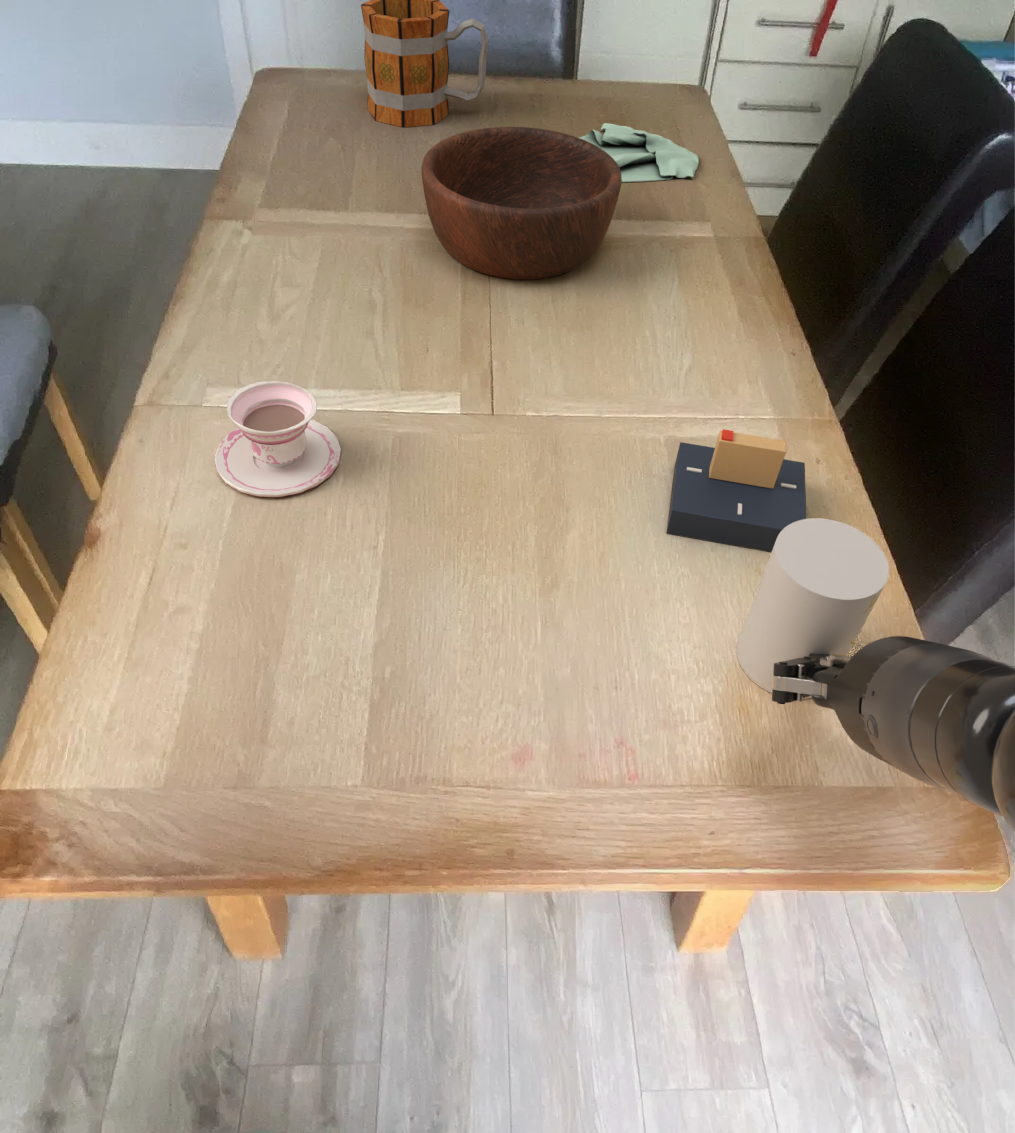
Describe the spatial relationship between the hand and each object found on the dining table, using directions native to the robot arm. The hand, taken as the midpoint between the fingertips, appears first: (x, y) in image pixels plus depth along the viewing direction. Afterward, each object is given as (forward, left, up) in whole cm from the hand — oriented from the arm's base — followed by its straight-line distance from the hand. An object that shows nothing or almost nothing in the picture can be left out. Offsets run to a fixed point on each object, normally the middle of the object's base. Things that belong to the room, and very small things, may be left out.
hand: (816, 667), depth 67 cm
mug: (+59, -106, -5) cm, 121 cm away
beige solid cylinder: (+1, -5, -5) cm, 7 cm away
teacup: (+50, -18, -5) cm, 53 cm away
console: (+6, -22, -5) cm, 23 cm away
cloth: (+25, -100, -5) cm, 103 cm away
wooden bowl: (+36, -67, -5) cm, 76 cm away
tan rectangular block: (+6, -23, -2) cm, 23 cm away
